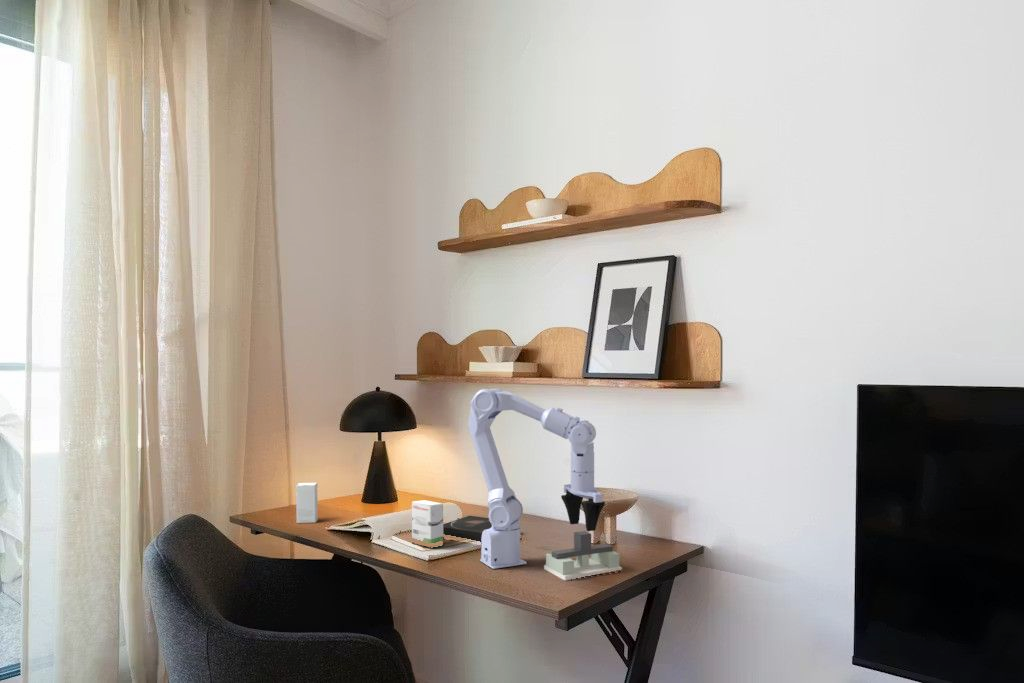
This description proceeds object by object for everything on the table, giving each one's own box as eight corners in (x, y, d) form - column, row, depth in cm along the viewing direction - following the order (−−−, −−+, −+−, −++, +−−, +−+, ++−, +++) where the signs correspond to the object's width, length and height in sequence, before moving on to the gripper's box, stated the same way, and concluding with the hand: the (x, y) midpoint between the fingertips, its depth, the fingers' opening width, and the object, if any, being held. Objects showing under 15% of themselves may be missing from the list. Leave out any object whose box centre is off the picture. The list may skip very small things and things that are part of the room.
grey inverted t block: (557, 559, 162) (557, 538, 162) (551, 556, 165) (551, 535, 165) (613, 551, 169) (613, 530, 170) (606, 548, 172) (606, 528, 172)
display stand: (565, 580, 159) (565, 563, 159) (544, 569, 168) (544, 552, 168) (621, 571, 166) (621, 554, 166) (598, 560, 175) (598, 544, 175)
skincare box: (318, 520, 220) (318, 482, 221) (315, 523, 216) (316, 484, 216) (298, 520, 219) (298, 482, 220) (295, 523, 215) (295, 484, 215)
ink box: (444, 546, 189) (444, 502, 190) (430, 549, 186) (430, 505, 186) (424, 540, 195) (424, 498, 196) (410, 543, 191) (410, 501, 192)
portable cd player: (467, 528, 212) (467, 515, 212) (515, 535, 203) (515, 521, 203) (435, 539, 197) (435, 526, 198) (485, 548, 189) (485, 533, 189)
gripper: (613, 474, 163) (613, 531, 163) (580, 466, 176) (580, 519, 176) (588, 476, 160) (588, 535, 160) (556, 467, 173) (556, 522, 173)
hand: (582, 527), depth 168 cm, fingers open, 7 cm apart
